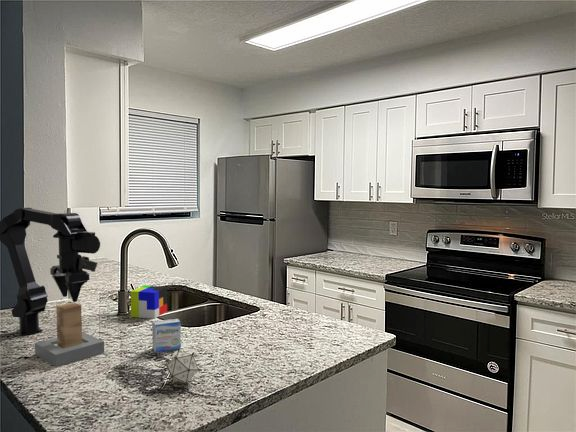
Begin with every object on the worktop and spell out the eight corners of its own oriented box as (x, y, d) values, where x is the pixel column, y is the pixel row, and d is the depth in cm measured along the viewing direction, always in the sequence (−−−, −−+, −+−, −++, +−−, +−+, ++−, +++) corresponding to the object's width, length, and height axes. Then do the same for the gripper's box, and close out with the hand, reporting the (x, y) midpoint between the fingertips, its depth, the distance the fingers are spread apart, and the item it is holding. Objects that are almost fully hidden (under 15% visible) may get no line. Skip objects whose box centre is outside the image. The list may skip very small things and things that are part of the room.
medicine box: (155, 353, 133) (154, 325, 133) (152, 348, 137) (151, 321, 137) (181, 349, 137) (181, 321, 136) (177, 344, 141) (177, 317, 140)
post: (57, 345, 132) (56, 305, 131) (74, 340, 135) (73, 302, 135) (65, 349, 128) (64, 308, 128) (82, 344, 132) (81, 305, 132)
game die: (177, 394, 115) (168, 357, 119) (208, 382, 115) (198, 345, 120) (164, 391, 107) (156, 351, 111) (198, 378, 107) (188, 339, 112)
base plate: (35, 354, 131) (34, 343, 131) (81, 342, 142) (81, 331, 142) (56, 367, 122) (55, 354, 122) (104, 352, 133) (104, 341, 133)
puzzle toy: (154, 318, 168) (154, 292, 167) (130, 316, 170) (130, 291, 169) (167, 311, 178) (167, 286, 177) (144, 309, 180) (144, 285, 179)
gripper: (105, 252, 143) (106, 300, 144) (83, 246, 156) (84, 290, 157) (68, 256, 135) (70, 306, 136) (49, 249, 148) (50, 295, 149)
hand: (70, 299), depth 145 cm, fingers open, 9 cm apart
